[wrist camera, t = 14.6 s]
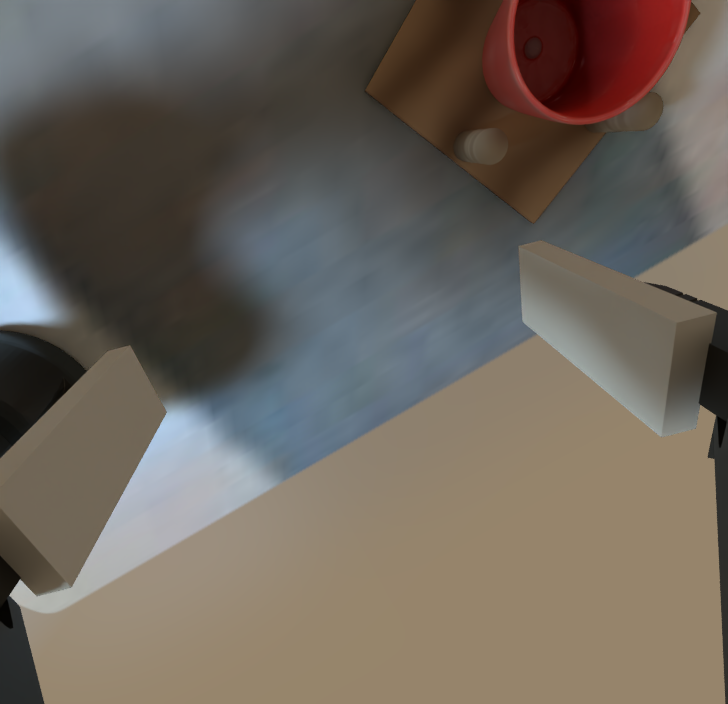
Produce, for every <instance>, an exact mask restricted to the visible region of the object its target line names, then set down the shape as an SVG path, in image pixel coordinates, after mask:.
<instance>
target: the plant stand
mask: <svg viewBox="0 0 728 704" xmlns="http://www.w3.org/2000/svg"><path fill="white" fill-rule="evenodd" d="M502 2H503V0H416V1H415V3H414V5H413V7H412V8H411V10H410V12H409V14H408V15H407V17H406V19H405V21H404V22H403V24H402V26H401V28H400V30H399V31H398V33H397V35H396V37H395V38H394V40H393V42H392V44H391V45H390V47H389V49H388V51H387V52H386V54H385V56H384V58H383V60H382V61H381V63H380V65H379V67H378V68H377V70H376V72H375V74H374V75H373V77H372V79H371V81H370V83H369V84H368V86H367V88H366V90H365V92H366V93H368V94H369V95H370V96H371V97H373V98H374V99H375V100H376V101H378V102H379V103H380V104H382V105H383V106H384V107H385V108H387V109H388V110H389V111H390V112H392V113H393V114H394V115H395V116H397V117H398V118H399V119H401V120H402V121H403V122H404V123H406V124H407V125H408V126H409V127H411V128H412V129H413V130H414V131H416V132H417V133H418V134H420V135H421V136H422V137H423V138H425V139H426V140H427V141H428V142H430V143H431V144H432V145H433V146H435V147H436V148H437V149H438V150H440V151H441V152H442V153H444V154H445V155H446V156H447V157H449V158H450V159H451V160H452V161H454V162H455V163H456V164H457V165H459V166H460V167H461V168H463V169H464V170H465V171H466V172H468V173H469V174H470V175H471V176H473V177H474V178H475V179H476V180H478V181H479V182H480V183H482V184H483V185H484V186H485V187H487V188H488V189H489V190H490V191H492V192H493V193H494V194H495V195H497V196H498V197H499V198H500V199H502V200H503V201H504V202H506V203H507V204H508V205H509V206H511V207H512V208H513V209H514V210H516V211H517V212H518V213H519V214H521V215H522V216H523V217H525V218H526V219H527V220H528V221H530V222H531V223H533V224H534V223H535V222H536V220H537V219H538V218H539V216H540V215H541V214H542V213H543V211H544V210H545V209H546V208H547V206H548V205H549V204H550V203H551V201H552V200H553V199H554V198H555V196H556V195H557V194H558V192H559V191H560V190H561V189H562V187H563V186H564V185H565V184H566V182H567V181H568V180H569V179H570V177H571V176H572V175H573V174H574V172H575V171H576V170H577V168H578V167H579V166H580V165H581V163H582V162H583V161H584V160H585V158H586V157H587V156H588V155H589V153H590V152H591V151H592V150H593V148H594V147H595V146H596V145H597V143H598V142H599V141H600V139H601V138H602V137H603V136H604V134H605V133H606V132H622V131H644V130H647V129H649V128H651V127H653V126H654V125H655V124H656V123H657V121H658V120H659V118H660V117H661V114H662V111H663V101H662V98H661V97H660V96H659V95H658V94H657V93H654V92H649V93H647V94H646V95H645V96H644V97H643V98H642V99H641V100H639V101H638V102H637V103H636V104H634V105H633V106H632V107H630V108H629V109H627V110H626V111H624V112H622V113H621V114H619V115H617V116H615V117H612V118H610V119H607V120H604V121H601V122H597V123H593V124H585V125H572V124H564V123H559V122H554V121H550V120H546V119H541V118H538V117H534V116H530V115H526V114H523V113H520V112H517V111H515V110H512V109H510V108H508V107H506V106H504V105H502V104H501V103H500V102H499V101H498V100H497V99H496V98H495V97H494V96H493V95H492V93H491V92H490V90H489V88H488V86H487V84H486V81H485V78H484V75H483V68H482V54H483V47H484V42H485V39H486V35H487V33H488V30H489V28H490V26H491V24H492V22H493V20H494V18H495V16H496V14H497V12H498V10H499V8H500V6H501V4H502ZM699 14H700V12H699V11H698V9H697V8H696V7H695V6H694V5H693V3H692V2H691V6H690V12H689V16H688V21H687V25H686V29H685V32H686V31H687V30H688V28H689V27H690V26H691V25H692V23H693V22H694V21H695V20H696V18H697V17H698V16H699ZM685 32H684V33H685Z"/></svg>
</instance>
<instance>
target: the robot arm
mask: <svg viewBox="0 0 728 704" xmlns="http://www.w3.org/2000/svg"><path fill="white" fill-rule="evenodd" d="M519 264H520V283H521V302H522V321H523V322H524V323H525V324H526V325H527V326H528V327H530V328H531V329H532V330H533V331H534V332H536V333H537V334H538V335H539V336H540V337H542V338H543V339H544V340H545V341H546V342H548V343H549V344H550V345H551V346H552V347H554V348H555V349H556V350H557V351H559V352H560V353H561V354H562V355H563V356H564V357H566V358H567V359H568V360H569V361H571V362H572V363H573V364H574V365H575V366H576V367H578V368H579V369H580V370H581V371H582V372H584V373H585V374H586V375H587V376H588V377H590V378H591V379H592V380H593V381H594V382H596V383H597V384H598V385H599V386H600V387H602V388H603V389H604V390H605V391H606V392H608V393H609V394H610V395H611V396H612V397H614V398H615V399H616V400H617V401H618V402H620V403H621V404H622V405H623V406H624V407H626V408H627V409H628V410H629V411H630V412H632V413H633V414H634V415H635V416H636V417H638V418H639V419H640V420H641V421H642V422H644V423H645V424H646V425H647V426H648V427H650V428H651V429H652V430H653V431H654V432H656V433H657V434H658V435H659V436H661V437H665V436H669V435H672V434H676V433H680V432H684V431H688V430H692V429H696V425H697V419H698V414H699V408H700V405H702V406H703V407H705V408H706V409H708V410H709V411H711V412H712V413H714V414H715V415H716V419H715V424H714V429H713V434H712V438H711V443H710V448H709V453H708V458H713V459H714V458H715V480H716V500H717V501H716V502H717V524H718V547H719V569H720V591H721V612H722V635H723V658H724V679H725V702H726V704H728V311H727V310H725V309H722V308H720V307H717V306H715V305H712V304H710V303H707V302H705V301H702V300H699V301H698V300H697V298H694V297H692V296H690V295H687V294H685V295H683V293H682V292H679V291H677V290H674V289H672V288H669V287H667V286H663V285H657V284H651V283H645V282H641V281H639V280H636V279H634V278H632V277H629V276H627V275H624V274H622V273H619V272H617V271H615V270H612V269H610V268H607V267H605V266H602V265H600V264H598V263H595V262H593V261H590V260H588V259H585V258H583V257H581V256H578V255H576V254H573V253H571V252H568V251H566V250H563V249H561V248H559V247H556V246H554V245H551V244H549V243H546V242H544V241H542V240H541V241H537V242H533V243H529V244H525V245H521V246H519ZM166 413H167V412H166V410H165V408H164V406H163V405H162V403H161V401H160V399H159V397H158V395H157V394H156V392H155V390H154V388H153V386H152V384H151V383H150V381H149V379H148V377H147V375H146V373H145V372H144V370H143V368H142V366H141V364H140V362H139V361H138V359H137V357H136V355H135V353H134V351H133V350H132V348H131V346H130V345H129V346H125V347H121V348H117V349H113V350H109V351H107V352H106V353H105V354H104V355H103V356H102V357H101V358H100V359H99V360H98V361H97V362H96V363H95V364H94V365H93V366H92V367H91V368H90V369H89V370H88V371H87V372H86V371H85V370H84V369H83V367H82V366H81V365H80V364H79V363H78V362H76V361H75V360H74V359H73V358H72V357H70V356H69V355H68V354H66V353H65V352H64V351H62V350H60V349H59V348H57V347H55V346H54V345H52V344H50V343H48V342H45V341H43V340H41V339H38V338H35V337H32V336H29V335H25V334H21V333H16V332H9V331H0V704H44V701H43V697H42V693H41V689H40V685H39V681H38V677H37V673H36V669H35V665H34V661H33V657H32V653H31V649H30V645H29V641H28V637H27V633H26V629H25V626H24V621H23V617H22V613H21V609H20V607H19V605H18V604H17V603H16V602H15V601H14V600H13V599H12V598H11V597H10V596H9V595H10V593H11V592H12V590H13V589H14V587H15V586H16V584H17V583H18V581H19V580H20V579H21V580H22V581H23V582H24V584H25V585H26V586H27V587H28V588H29V589H30V590H31V591H32V592H33V593H34V594H35V595H36V596H40V595H44V594H48V593H52V592H56V591H60V590H64V589H68V588H71V587H72V585H73V584H74V582H75V580H76V578H77V576H78V574H79V573H80V571H81V569H82V567H83V565H84V563H85V562H86V560H87V558H88V556H89V554H90V552H91V551H92V549H93V547H94V545H95V543H96V541H97V540H98V538H99V536H100V534H101V532H102V530H103V529H104V527H105V525H106V523H107V521H108V519H109V518H110V516H111V514H112V512H113V510H114V508H115V506H116V505H117V503H118V501H119V499H120V497H121V495H122V494H123V492H124V490H125V488H126V486H127V484H128V483H129V481H130V479H131V477H132V475H133V473H134V472H135V470H136V468H137V466H138V464H139V462H140V461H141V459H142V457H143V455H144V453H145V451H146V450H147V448H148V446H149V444H150V442H151V440H152V439H153V437H154V435H155V433H156V431H157V429H158V428H159V426H160V424H161V422H162V420H163V418H164V417H165V415H166Z"/></svg>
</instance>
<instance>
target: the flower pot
mask: <svg viewBox="0 0 728 704" xmlns="http://www.w3.org/2000/svg"><path fill="white" fill-rule="evenodd" d="M690 6H691V0H503V2H502V4H501V6H500V8H499V10H498V12H497V14H496V16H495V18H494V20H493V22H492V24H491V26H490V28H489V30H488V33H487V35H486V39H485V42H484V47H483V54H482V68H483V75H484V78H485V81H486V84H487V86H488V88H489V90H490V92H491V93H492V95H493V96H494V97H495V98H496V99H497V100H498V101H499V102H500V103H501V104H502V105H504V106H506V107H508V108H510V109H512V110H515V111H517V112H520V113H523V114H526V115H530V116H534V117H538V118H541V119H546V120H550V121H554V122H559V123H564V124H572V125H585V124H593V123H597V122H601V121H604V120H607V119H610V118H612V117H615V116H617V115H619V114H621V113H622V112H624V111H626V110H627V109H629V108H630V107H632V106H633V105H634V104H636V103H637V102H638V101H639V100H641V99H642V98H643V97H644V96H645V95H646V94H647V93H648V92H649V91H650V90H651V89H652V88H653V87H654V86H655V84H656V83H657V82H658V81H659V79H660V78H661V77H662V75H663V74H664V72H665V71H666V70H667V68H668V66H669V65H670V63H671V61H672V59H673V57H674V55H675V53H676V51H677V49H678V47H679V45H680V43H681V40H682V38H683V35H684V32H685V29H686V25H687V21H688V16H689V12H690Z"/></svg>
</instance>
